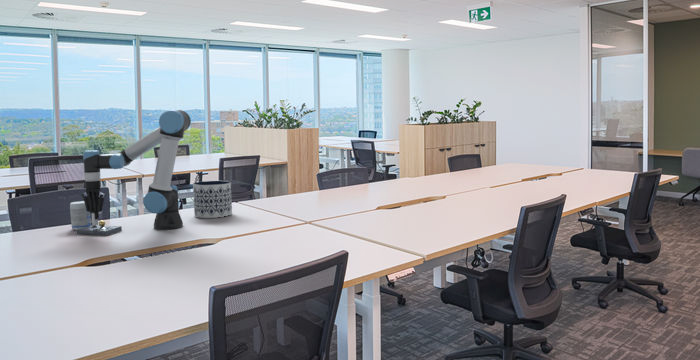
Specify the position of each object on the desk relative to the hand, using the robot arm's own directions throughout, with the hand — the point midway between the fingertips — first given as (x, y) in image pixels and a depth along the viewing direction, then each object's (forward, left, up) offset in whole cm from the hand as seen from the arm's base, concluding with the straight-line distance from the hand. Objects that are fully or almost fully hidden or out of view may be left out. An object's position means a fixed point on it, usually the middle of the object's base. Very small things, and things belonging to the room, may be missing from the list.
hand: (95, 225), depth 278 cm
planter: (-36, -59, -5) cm, 69 cm away
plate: (-1, -2, -4) cm, 5 cm away
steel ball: (-5, 0, -3) cm, 6 cm away
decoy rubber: (+5, -5, 0) cm, 7 cm away
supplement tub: (+16, -8, -5) cm, 19 cm away
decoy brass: (0, -5, 0) cm, 5 cm away
